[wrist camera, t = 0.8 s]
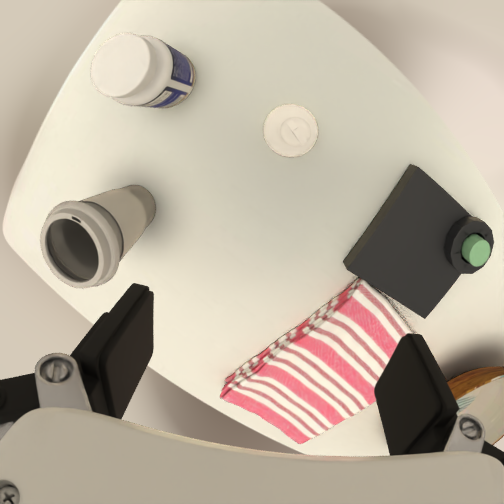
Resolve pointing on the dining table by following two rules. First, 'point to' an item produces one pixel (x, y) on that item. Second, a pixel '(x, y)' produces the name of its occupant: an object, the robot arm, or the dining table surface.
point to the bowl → (482, 398)
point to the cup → (95, 234)
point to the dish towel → (321, 365)
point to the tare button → (475, 250)
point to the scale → (416, 243)
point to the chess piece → (290, 130)
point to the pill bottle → (142, 71)
